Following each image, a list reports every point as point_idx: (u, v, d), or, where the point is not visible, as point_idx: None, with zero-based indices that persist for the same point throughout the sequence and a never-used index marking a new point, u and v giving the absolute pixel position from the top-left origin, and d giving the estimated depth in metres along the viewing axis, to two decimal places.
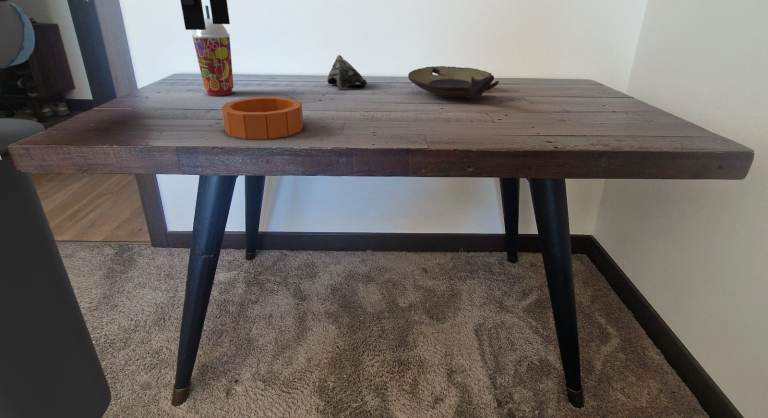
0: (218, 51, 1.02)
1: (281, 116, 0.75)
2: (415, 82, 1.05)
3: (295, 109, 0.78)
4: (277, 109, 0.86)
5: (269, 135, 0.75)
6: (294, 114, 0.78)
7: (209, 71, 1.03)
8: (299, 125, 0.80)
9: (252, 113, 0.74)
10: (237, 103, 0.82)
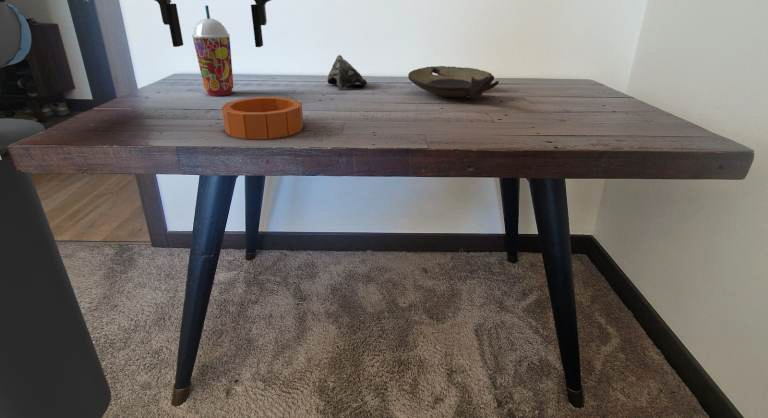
0: (218, 51, 1.02)
1: (281, 116, 0.75)
2: (415, 82, 1.05)
3: (295, 109, 0.78)
4: (277, 109, 0.86)
5: (269, 135, 0.75)
6: (294, 114, 0.78)
7: (209, 71, 1.03)
8: (299, 125, 0.80)
9: (252, 113, 0.74)
10: (237, 103, 0.82)
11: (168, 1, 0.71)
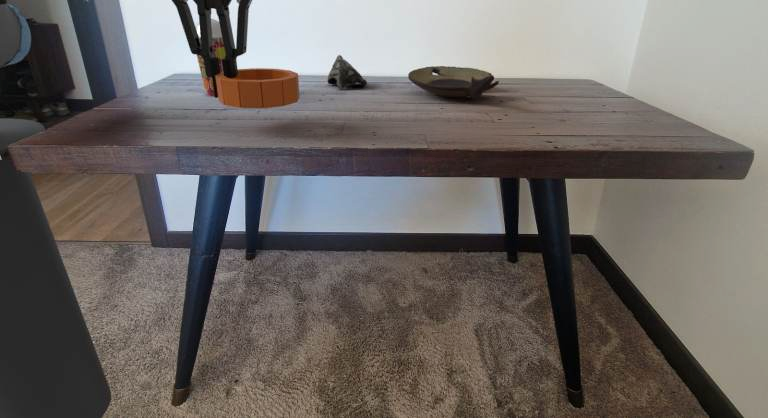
0: (218, 51, 1.02)
1: (277, 84, 0.73)
2: (415, 82, 1.05)
3: (291, 78, 0.75)
4: None
5: (264, 104, 0.73)
6: (290, 84, 0.75)
7: None
8: (295, 96, 0.77)
9: (247, 80, 0.72)
10: None
11: (212, 53, 0.76)
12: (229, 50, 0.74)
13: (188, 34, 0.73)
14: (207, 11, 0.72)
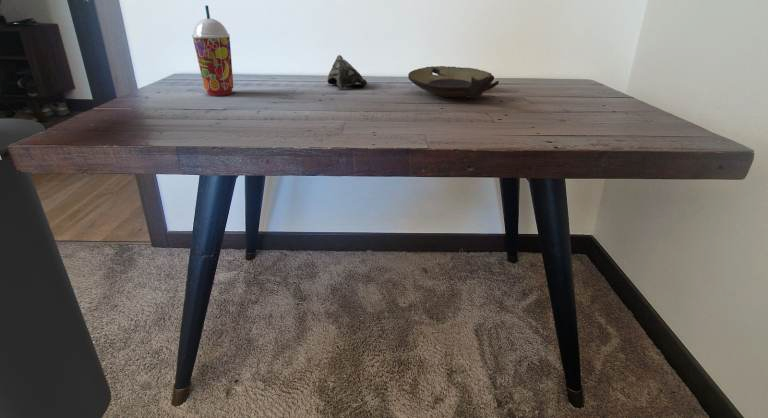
0: (218, 51, 1.02)
1: None
2: (415, 82, 1.05)
3: None
4: None
5: None
6: None
7: (209, 71, 1.03)
8: None
9: None
10: None
11: None
12: None
13: None
14: None
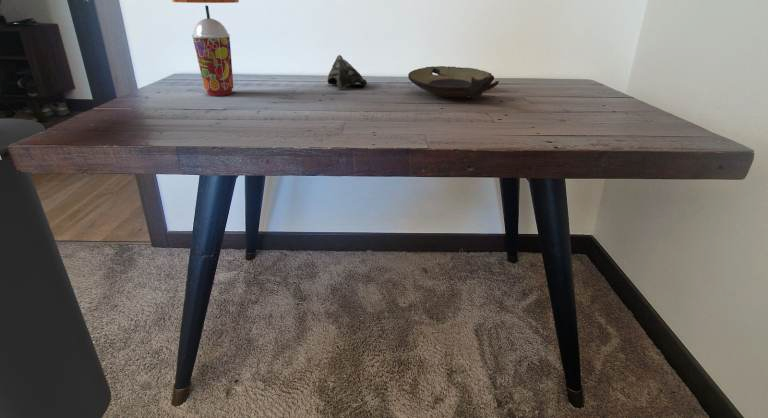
0: (218, 51, 1.02)
1: None
2: (415, 82, 1.05)
3: None
4: None
5: None
6: None
7: (209, 71, 1.03)
8: None
9: None
10: None
11: None
12: None
13: None
14: None
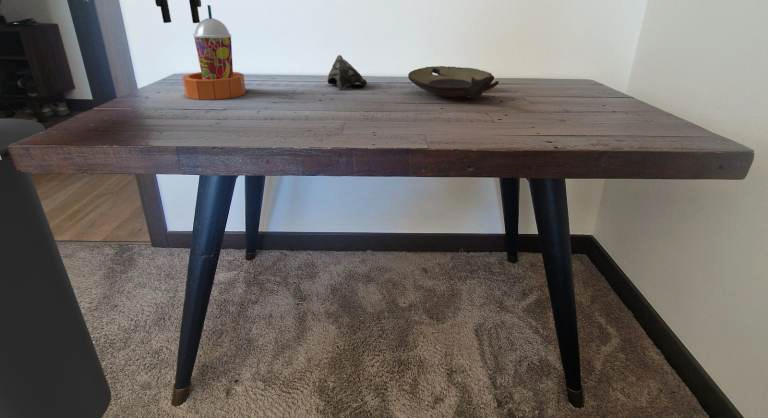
0: (219, 51, 1.02)
1: (225, 82, 1.03)
2: (415, 82, 1.05)
3: (236, 78, 1.05)
4: None
5: (216, 96, 1.03)
6: (236, 82, 1.05)
7: (209, 70, 1.03)
8: (240, 90, 1.07)
9: (203, 80, 1.01)
10: (195, 75, 1.09)
11: None
12: None
13: None
14: None
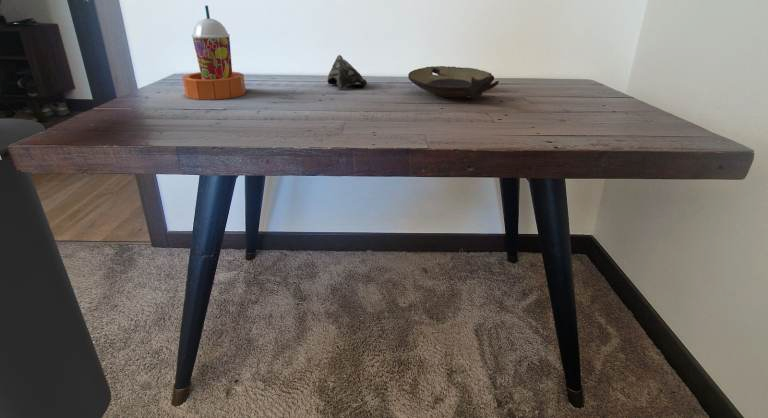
0: (218, 51, 1.02)
1: (225, 82, 1.03)
2: (415, 82, 1.05)
3: (236, 78, 1.05)
4: None
5: (216, 96, 1.03)
6: (236, 82, 1.05)
7: (209, 71, 1.03)
8: (240, 90, 1.07)
9: (203, 80, 1.01)
10: (195, 74, 1.09)
11: None
12: None
13: None
14: None
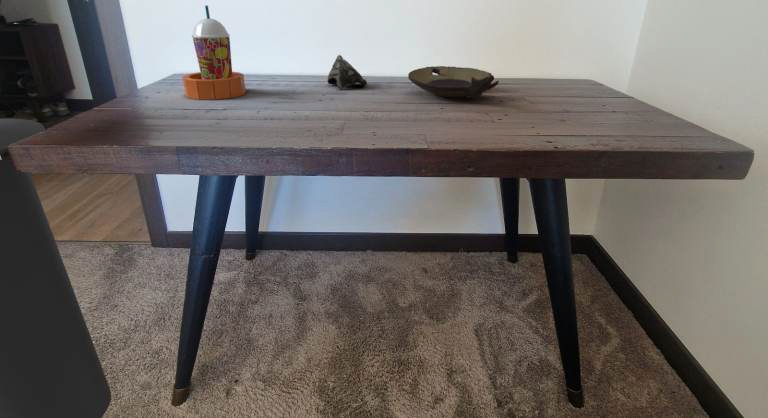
0: (218, 51, 1.02)
1: (225, 82, 1.03)
2: (415, 82, 1.05)
3: (236, 78, 1.05)
4: None
5: (216, 96, 1.03)
6: (236, 82, 1.05)
7: (209, 71, 1.03)
8: (240, 90, 1.07)
9: (203, 80, 1.01)
10: (195, 74, 1.09)
11: None
12: None
13: None
14: None
